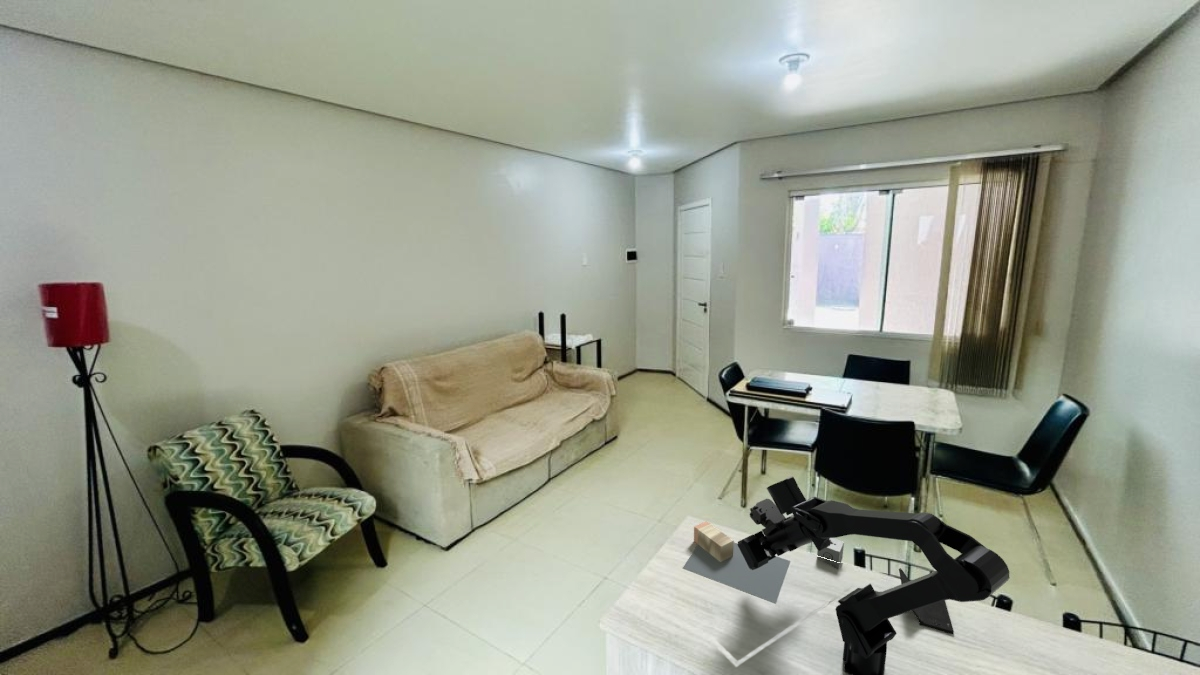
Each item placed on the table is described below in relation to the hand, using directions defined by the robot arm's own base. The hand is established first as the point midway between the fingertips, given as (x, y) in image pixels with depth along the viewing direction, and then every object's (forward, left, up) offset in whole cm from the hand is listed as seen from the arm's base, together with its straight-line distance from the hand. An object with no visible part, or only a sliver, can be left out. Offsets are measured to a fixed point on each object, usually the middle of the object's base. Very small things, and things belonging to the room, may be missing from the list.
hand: (753, 549), depth 112 cm
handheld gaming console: (-35, -10, -9) cm, 37 cm away
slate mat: (+4, -3, -8) cm, 10 cm away
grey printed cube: (-15, -17, -9) cm, 25 cm away
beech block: (+7, -3, -5) cm, 10 cm away
